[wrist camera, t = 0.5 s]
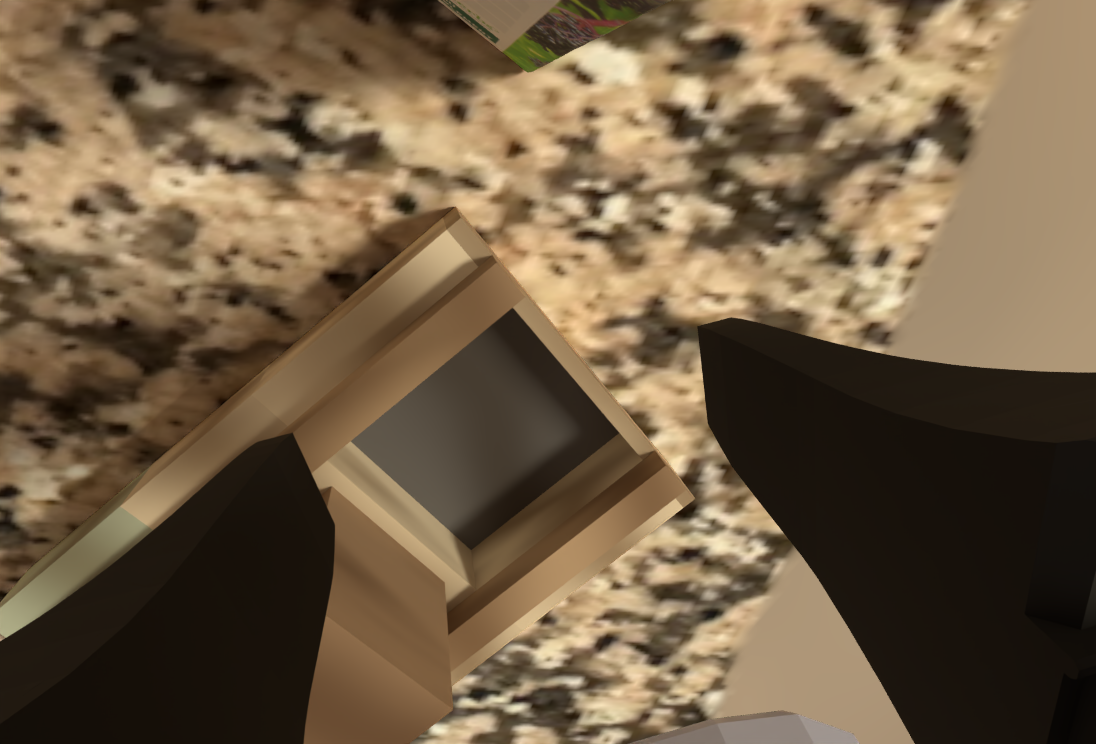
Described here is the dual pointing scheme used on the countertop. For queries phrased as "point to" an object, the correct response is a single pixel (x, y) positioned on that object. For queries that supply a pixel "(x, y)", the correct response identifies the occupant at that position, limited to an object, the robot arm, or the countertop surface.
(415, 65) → the countertop surface
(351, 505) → the walnut block
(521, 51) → the syrup box
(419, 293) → the wooden tray
